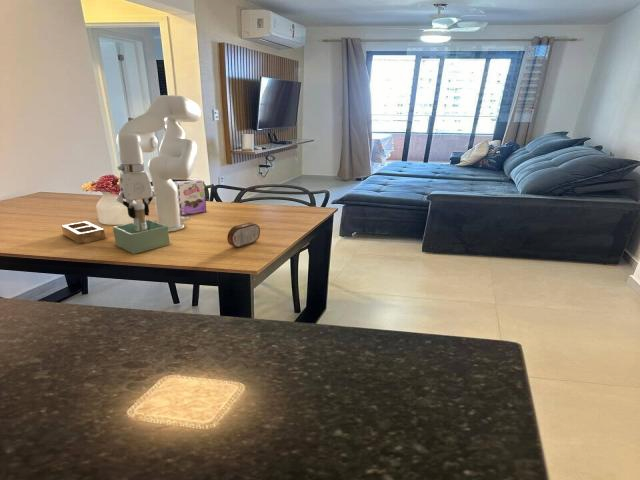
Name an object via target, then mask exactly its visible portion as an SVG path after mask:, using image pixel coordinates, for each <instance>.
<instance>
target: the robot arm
mask: <svg viewBox="0 0 640 480" xmlns="http://www.w3.org/2000/svg"><path fill="white" fill-rule="evenodd" d="M201 116H202V115H201V108H200V106H199V105H198V103H196V102H195V101H194V100H192V99H190V98H188V97H186V96H183V95H176V94H175V95H173V94H171V95H170V94H163V95H162V94H161V95H158V96H157V97H155V98H154V100H153V101H152V103H151V104H150V105H149V107H148V109H147V110H146V112H144V113H143V114H140V115H138V116H136V117H134V118H132V119H130V120H128V121H127V122H126V123H125V124H123V126H122V127H121V128H120V130H119V131H118V133H117V136H116V139H115V141H116V145H117V147H118V154H119V161H120V164H119V165H118V166H117V171H121V172H120V173H119V191H120V192H119V195H118V196H117V198H116V202H118V203H121V204H122V205H123V206H125V208H126V209H127V215H128V217H129V218H131V219H133V218H135V212H134V208H133V207H132V205H133V204H134V201H137V200H141V203H144V205H145V216H147V217H148V216H150V207H149V205H150V203H151V202H152V200H153V199H154V205H155V215H156V222H157V223H160V224H163V225H165V226H168V233H169V232H176V231H180V230H183V229H184V228H185V223H184V222H188V221H190V220H191V217H190V215H187V216H181V215H179V205H178V194H177V188H176V186H175V184H174V182H175V181H173V180H179V181H180V180H181V181H186V180H188V179H189V178H190V177H191V176H192V173H193V170H194V166H195V163H196V160H197V157H198V145H197V143H196V141H195V140H193V139H192V138H188V137H187V138H186V133H185V132H186V131H184V129H183V127H182V126H180V124H179V123H180V122H181V123H196V122H198V121H199V120H200V119H201ZM164 128H165V131H164V134H163V137H162V139H161V142H160V144H159V141H158V138H157V136H156V135H155V134H154V133H156V132H159V131H163V130H164ZM158 144H159V145H158ZM158 146H159V148H158ZM157 148H158V153H159V155H158V156H154V157H151V158H150V159H149V161H148V163H147V169H148V170H145V164H144V156H143V153H147V154H148V153H152V152H155V151H156V150H157ZM147 171H148V172H149V174H148V172H147ZM149 175H150V177H149ZM151 182H152V184H151ZM152 188H153V189H152Z"/></svg>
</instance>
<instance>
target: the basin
mask: <svg viewBox="0 0 640 480" xmlns="http://www.w3.org/2000/svg"><path fill="white" fill-rule="evenodd" d="M146 223H147V231H142V232H138V233H136V232H135V227H134V222H129V223H124V224H119V225H115V226H112V229H113V230H112V231H113V237H114V241H115V242H114V243H115V246H117V247H119V248H121V249H123V250H125V251H127V252H129V253H131V254H134V255H135V254H138V253H142V252H147V251H151V250H155V249H159V248H161V247H165V246H169V245H171V243H170V242H171V241H170V233H169V232H168V226H165V225H163V224H160V223H157V221H154V220H151V219H146Z"/></svg>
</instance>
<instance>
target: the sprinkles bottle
mask: <svg viewBox="0 0 640 480" xmlns="http://www.w3.org/2000/svg"><path fill="white" fill-rule="evenodd" d="M132 207H133V208H134V212H135V218H132V219H133V223H134V227H135V232H136V233H138V232H142V231H147V223H146V220H147V217H146V215H145V205H144V203H143V202H133V205H132Z"/></svg>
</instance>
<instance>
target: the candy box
mask: <svg viewBox="0 0 640 480" xmlns="http://www.w3.org/2000/svg"><path fill="white" fill-rule="evenodd" d="M173 182H174V184H175V186H176V188H177V194H178V205H179V215H180V217H183V216H190V215H195V214H203V213H207V202H206V187H205V186H206V185H205V181H204V180H202V179H193V180H181V181H173Z"/></svg>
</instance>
